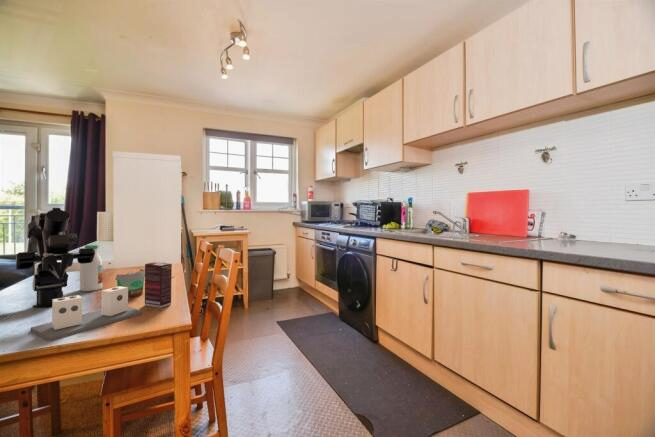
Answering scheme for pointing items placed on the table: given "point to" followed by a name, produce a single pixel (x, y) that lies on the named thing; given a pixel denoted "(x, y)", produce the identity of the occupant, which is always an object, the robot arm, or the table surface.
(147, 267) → the supplement box
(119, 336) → the table surface
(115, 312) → the push button box
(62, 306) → the white block grey domes
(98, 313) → the key mat
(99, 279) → the milk bottle
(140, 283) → the food container
